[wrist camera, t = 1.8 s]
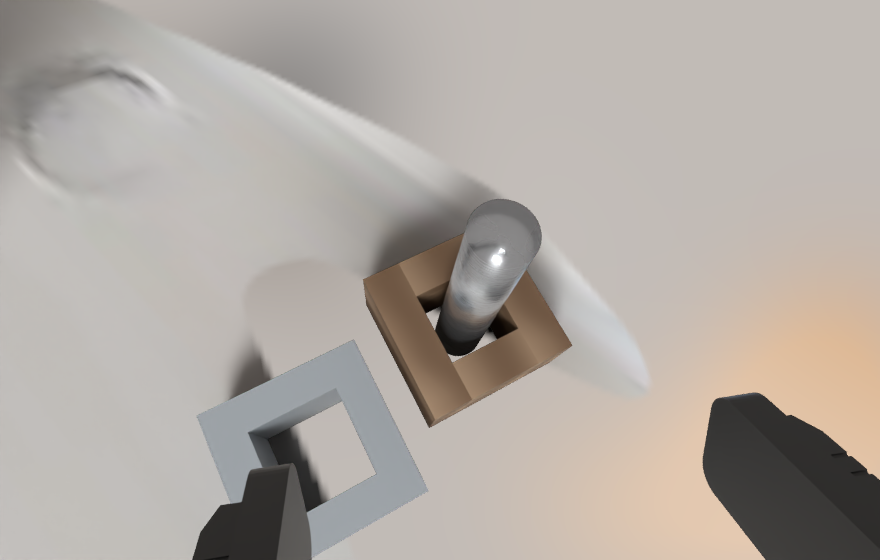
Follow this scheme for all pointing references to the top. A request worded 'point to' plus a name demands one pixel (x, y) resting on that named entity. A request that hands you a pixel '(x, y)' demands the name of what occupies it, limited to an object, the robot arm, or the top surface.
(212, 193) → the top surface
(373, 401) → the socket block
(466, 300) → the steel axle
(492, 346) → the wooden square frame
